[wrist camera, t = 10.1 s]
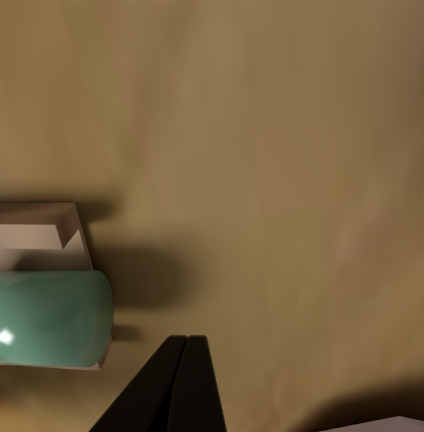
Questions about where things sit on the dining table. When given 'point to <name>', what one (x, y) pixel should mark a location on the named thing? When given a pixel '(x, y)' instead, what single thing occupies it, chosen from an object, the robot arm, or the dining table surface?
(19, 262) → the shallow wooden tray
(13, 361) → the bottle
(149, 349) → the dining table surface
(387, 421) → the fruit bowl
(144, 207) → the dining table surface
